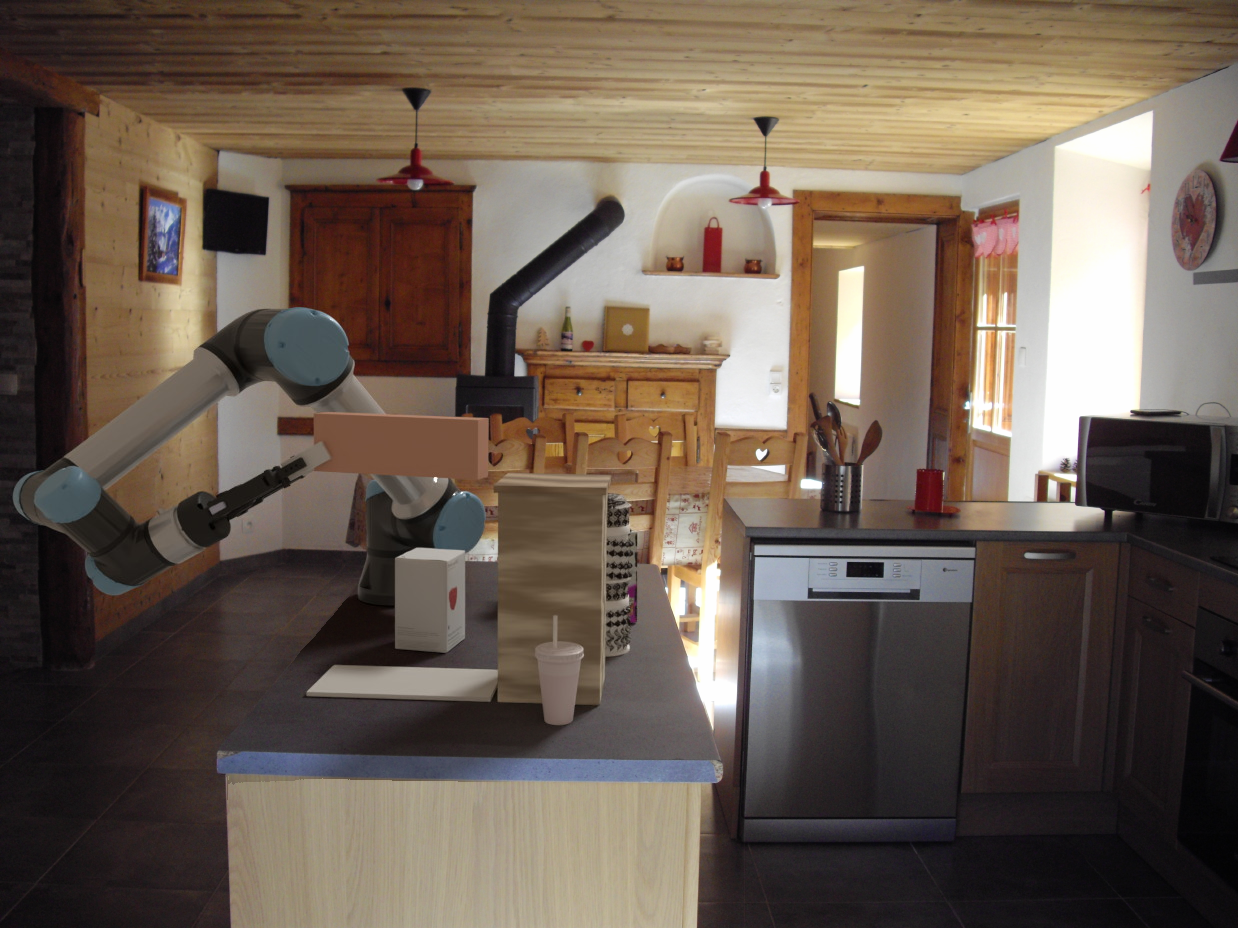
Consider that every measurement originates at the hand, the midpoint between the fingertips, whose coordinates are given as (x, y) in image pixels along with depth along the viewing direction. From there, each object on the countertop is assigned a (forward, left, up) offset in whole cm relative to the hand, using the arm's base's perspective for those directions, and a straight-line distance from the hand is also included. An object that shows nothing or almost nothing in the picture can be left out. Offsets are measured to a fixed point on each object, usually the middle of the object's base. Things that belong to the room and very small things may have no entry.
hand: (332, 448), depth 146 cm
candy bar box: (-35, +36, -34) cm, 61 cm away
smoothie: (+12, +33, -34) cm, 49 cm away
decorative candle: (-20, +37, -34) cm, 54 cm away
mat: (0, +11, -34) cm, 35 cm away
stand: (0, +31, -34) cm, 46 cm away
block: (+2, +10, -3) cm, 11 cm away
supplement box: (-20, +9, -34) cm, 41 cm away
